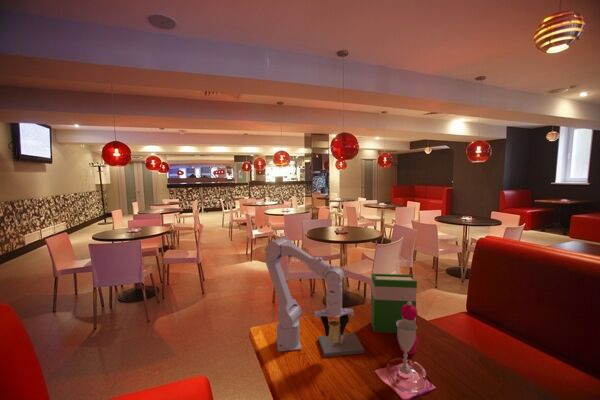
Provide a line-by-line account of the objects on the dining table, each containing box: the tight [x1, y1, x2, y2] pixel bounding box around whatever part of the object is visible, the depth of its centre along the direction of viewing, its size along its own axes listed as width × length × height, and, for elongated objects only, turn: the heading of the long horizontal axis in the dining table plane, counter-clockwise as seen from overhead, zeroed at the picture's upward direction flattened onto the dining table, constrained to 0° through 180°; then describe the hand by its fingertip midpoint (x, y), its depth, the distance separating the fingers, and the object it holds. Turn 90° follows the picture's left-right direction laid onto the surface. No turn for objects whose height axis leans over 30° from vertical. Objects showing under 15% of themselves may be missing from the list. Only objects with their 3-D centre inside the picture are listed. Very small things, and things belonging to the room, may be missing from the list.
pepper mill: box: [398, 301, 419, 355], centre depth 109 cm, size 7×7×20 cm
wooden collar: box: [327, 319, 341, 343], centre depth 104 cm, size 5×5×6 cm
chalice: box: [396, 319, 418, 374], centre depth 96 cm, size 7×7×18 cm
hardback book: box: [370, 273, 418, 334], centre depth 123 cm, size 18×7×24 cm, turn 85°
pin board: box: [317, 332, 365, 358], centre depth 111 cm, size 16×11×6 cm
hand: (334, 334), depth 104 cm, fingers closed on wooden collar, 5 cm apart
